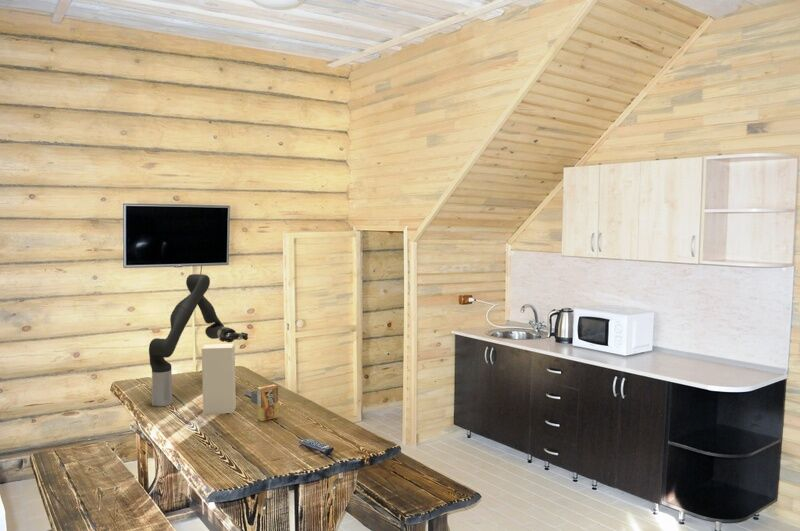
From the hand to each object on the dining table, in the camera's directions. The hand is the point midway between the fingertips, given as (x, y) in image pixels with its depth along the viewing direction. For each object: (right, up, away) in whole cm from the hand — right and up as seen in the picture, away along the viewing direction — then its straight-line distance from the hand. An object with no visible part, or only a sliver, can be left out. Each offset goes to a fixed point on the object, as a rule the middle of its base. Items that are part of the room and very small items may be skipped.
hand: (239, 339), depth 331 cm
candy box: (+23, -33, -35) cm, 53 cm away
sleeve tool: (+9, -30, -3) cm, 32 cm away
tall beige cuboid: (-3, -32, -23) cm, 40 cm away
